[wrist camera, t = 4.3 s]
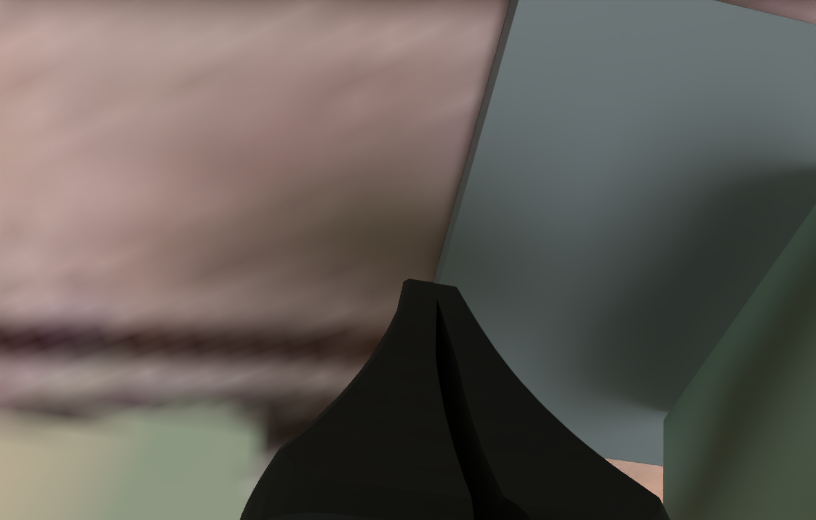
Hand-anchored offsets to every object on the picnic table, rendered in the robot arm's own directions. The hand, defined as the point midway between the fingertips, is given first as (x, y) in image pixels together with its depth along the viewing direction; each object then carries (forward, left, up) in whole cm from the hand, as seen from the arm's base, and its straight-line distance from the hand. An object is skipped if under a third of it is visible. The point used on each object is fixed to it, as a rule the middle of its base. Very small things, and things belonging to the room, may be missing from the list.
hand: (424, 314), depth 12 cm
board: (0, -12, -4) cm, 12 cm away
